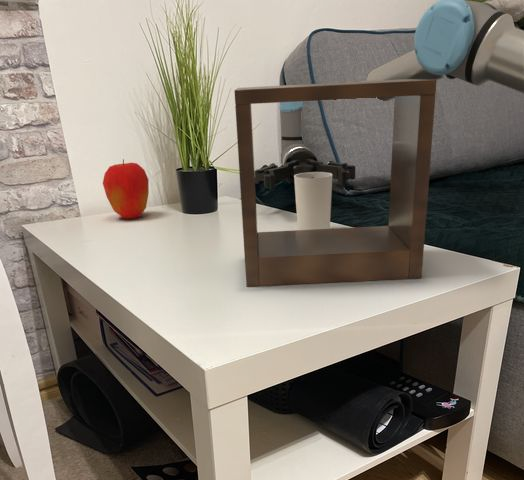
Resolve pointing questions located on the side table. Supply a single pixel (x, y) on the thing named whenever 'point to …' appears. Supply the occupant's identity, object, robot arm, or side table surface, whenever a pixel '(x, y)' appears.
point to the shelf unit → (345, 239)
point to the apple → (127, 189)
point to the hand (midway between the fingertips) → (308, 181)
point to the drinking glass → (313, 200)
